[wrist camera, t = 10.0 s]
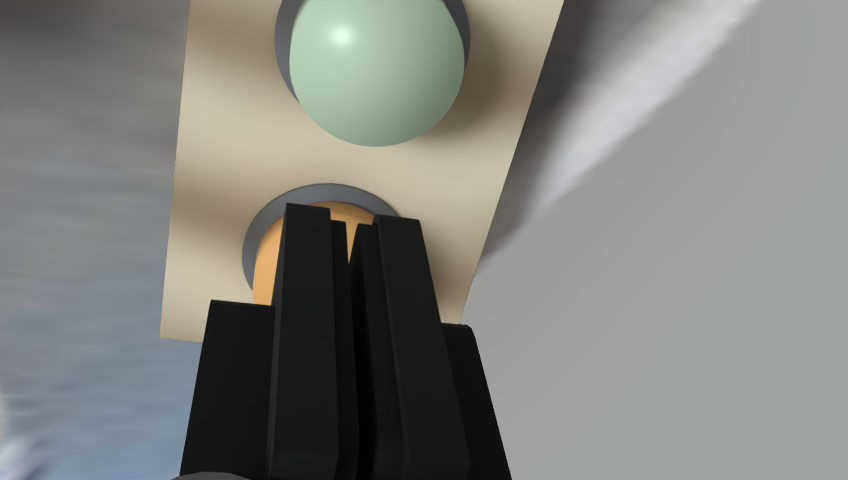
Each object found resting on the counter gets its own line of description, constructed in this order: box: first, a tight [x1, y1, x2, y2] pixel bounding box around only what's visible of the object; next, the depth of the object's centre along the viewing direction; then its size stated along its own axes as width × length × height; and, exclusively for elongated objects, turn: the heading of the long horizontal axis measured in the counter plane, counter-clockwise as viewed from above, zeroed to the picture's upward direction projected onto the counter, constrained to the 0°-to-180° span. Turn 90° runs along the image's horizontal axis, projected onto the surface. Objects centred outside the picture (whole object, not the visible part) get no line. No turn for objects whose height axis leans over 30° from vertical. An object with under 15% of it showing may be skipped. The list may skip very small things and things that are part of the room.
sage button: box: [289, 0, 464, 147], centre depth 23 cm, size 5×5×2 cm
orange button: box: [253, 201, 375, 305], centre depth 27 cm, size 5×5×2 cm
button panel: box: [160, 0, 564, 342], centre depth 25 cm, size 25×11×3 cm, turn 166°
